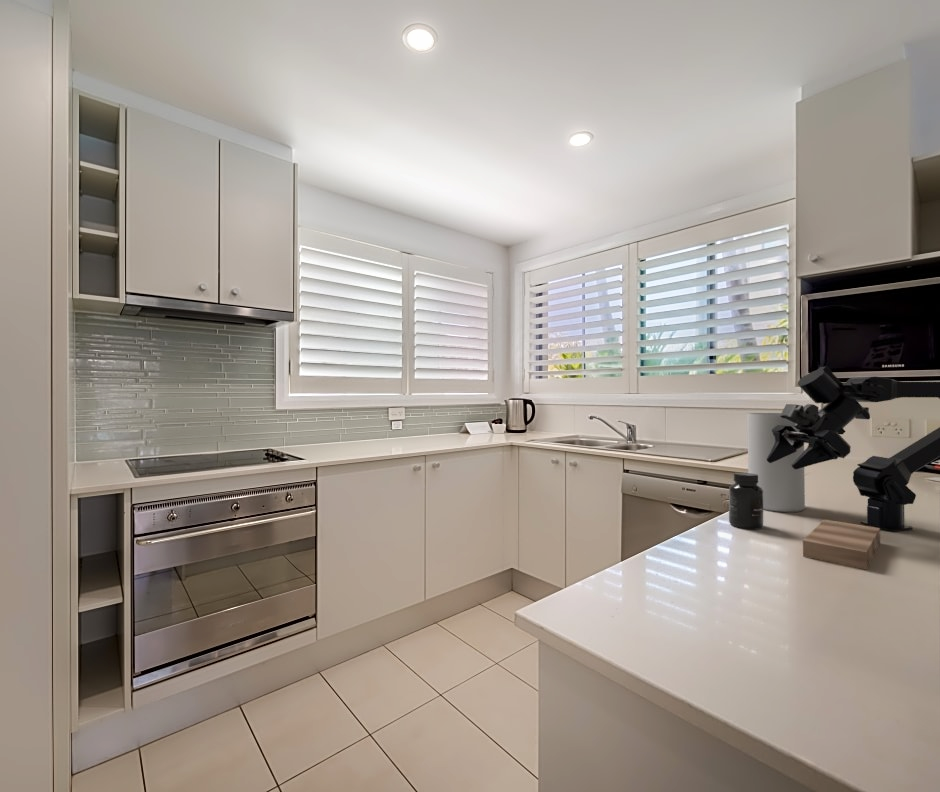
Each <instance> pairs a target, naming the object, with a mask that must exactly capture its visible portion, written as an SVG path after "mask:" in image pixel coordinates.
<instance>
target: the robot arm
mask: <svg viewBox="0 0 940 792" xmlns="http://www.w3.org/2000/svg"><path fill="white" fill-rule="evenodd" d="M797 386H798V387H799V388H800V389H801V390H802V391H803V392H804V393H805V394H806V395H807V396H808V397H809V398H810V399H811V400H812V401H813V404H812V403H810V404H809V403H807V404H805V405H804V406H803V405H801V404H796V403H795V404H794V403H793V404H792V403H790V404H789V403H787V404H785V406H784V408H783V410H782V411H781V412H780V413H781V415H780V417H782V418H786V419H788V420H790V421H792V422H794V423H796V424H795V425H794V426H795V427H796V428H797V429H799V430H800V431H799V432H796V431H795V430H794V428H793V427H792V426H785V425H777V426H776V427H774V428H773V429H772V432H773V435H774V437H775V443H774V446H773V448H772V450H771V452H770V454H769V455H768V457H767V459H766V460H767V461H768V462H769V463H772V462H774V461H777V460H779V459H781V458H783V457H786V456H788V455H790V454H792V453H794V452H797V450H796V449H799V448H801V447H802V446H803V445H804V446H805V444H808V445H807V447H806V448H805V449H804V452H803V453H802V454H801V455H800V456H799V457H798V458H797V459H796V461H795V462H794V463H793V464H792V467H793V468H794V469H799V468H803V467H804V468H806V467H809V466H812V465H816V464H820V463H825V462H829V461H833V460H837V459H838V458H839V459H840V458H841V459H845V458H846V457H847V456H849V454H850V453H851V445H850V444H849V442H847V441H846V440H845V439H844V437H843V436H841V435H844V433H846V430H845V429H844V428H845V427H846V426H847V425H848V424H850V422H852V421H853V420H854V419H857V420H870V418H871V414H870V412H869V411H870V410H869V409H870V408H869V407H865V406H863V405H861V404H860V403H882V402H887V401H893V400H896V399H901V398H938V399H939V400H940V381H900V380H895V379H893V378H887V377H882V376H860V377H859V376H856V377H850V378H848V379H847V380H846V381H845V382H842V381H841V380H840V379H839V378H838V376H836V375H835V374H834V373H833V371H832V370H831V368H830V367H828V366H820V367H818V369H816V370H813V371H811V372H810V373H807V374H806V375H803V376H802V377H800V379H799V380H798V381H797ZM814 403H815V404H814ZM816 404H823V405H824V406H823V407H822V408H821V409H819V406H817V405H816ZM938 458H940V426H938V427H937V428H935V429H934V430H933V431H931V432H929V433H928V434H926V435H924V436H923V437H921V438H920V439H918V440H917V441H915V442H913V443H911V444H910V445H908V446H907V447H904V449H901V450H900V451H898V452H897V453H896V454H893V455H892V456H890V457H884V456H877V455H872V456H870V457H868V458H867V459H866V460H865V461H863V462H861V463H858V464H857V466H858V467H857V468H855V469H854V470H853V472H852V474H853V475H852V481H853V483H854V486H856V488H857V490H858V492H859V495H860V496H863V497H867V506H866V517H867V518H866V520H862V521H860V525H863V526H869V527H876V528H880V530H884V531H888V532H900V531H909V530H910V531H911V530H913V526H909V525H905V506H906V505H914V502H915V500H916V497H917V495H916V493H915V492H914V491H912V489H910V488H909V487H908V486H907V485H908V484H909V482H910V479H911V476H912V475H913V474H914V473H915V472H917V471H919V470H920V469H922V468H924V467H925V466H926V465H928V464H930V463H932V462H933V461H935V460H936V459H938Z"/></svg>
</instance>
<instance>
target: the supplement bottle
mask: <svg viewBox="0 0 940 792" xmlns="http://www.w3.org/2000/svg"><path fill="white" fill-rule="evenodd" d="M733 482H734V483H732V484H731V485H730V486H729V488H728V523H729V524H730V525H731V526H733V527H736V528H739V529H745V530H760V529H762V528H763V527H764V509H763V490H762V488H761V487H759V486H758V485H757V483H758V475H757V474H752V473H748V472H734V473H733Z"/></svg>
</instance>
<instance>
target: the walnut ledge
mask: <svg viewBox="0 0 940 792" xmlns="http://www.w3.org/2000/svg"><path fill="white" fill-rule="evenodd" d="M880 544H881V529H880V528H876V527H872V526H868V525H864V524H855V523H849V522H842V521H835V520H829V519H823V520H822V521H821V522H820V523H819V524H818V525H817V526H816V527H815V528H814V529H813V530H812V531H811V532H810V533H809V534H808V535H807V536H806V537H805V538H804V539H802V556H803V557H804V556H806V557H805V558H809V557H810V558H809V559H813V558H816V559H815V560H818V559H821V560H820V561H823V560H826V561H825V562H828V561H831V562H830V563H833V562H835V563H834V564H838V563H840V564H839V565H842V564H844V565H843V566H847V565H849V566H848V567H852V566H853V567H852V568H858V569H863V570H868V568H869V566H870V564H871V561H872V560H873V558H874V555H875V554H876V552H877V550H878V548H879V546H880Z"/></svg>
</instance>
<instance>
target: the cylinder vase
mask: <svg viewBox="0 0 940 792" xmlns="http://www.w3.org/2000/svg"><path fill="white" fill-rule="evenodd" d="M781 413H782V412H749V413H747V470H748V471H747V473H752V474H757V475H758V483H757V485H758V486H759V487H761V488H762V490H763V511H770V512H771V511H772V512H779V513H780V512H781V513H797V512H798V513H799V512H802V511H803V510H805V507H806V503H805V501H806V495H805V493H806V490H805V485H806V484H805V479H806V478H805V476H806V475H805V467H803V468H799V469H794V468H793V467H792V464H793V463H794V462H795V461H796V459H797V458H798V457H799V456H800V455H801V454H802V453H803V452H804V451H805V444H804V445H803V446H802V447H801V448H799V449H796V450H797V452H794V453H792V454H790V455H788V456H786V457H783V458H781V459H779V460H777V461H774V462H772V463H769V462H768V461H767V460H766V459H767V457H768V455H769V454H770V452H771V450H772V448H773V446H774V443H775V437H774V435H773V432H772V429H773V428H774V427H776V426H777V425H785V426H792V427H793V428H794V430H795V431H796V432H799V431H800V430H799V429H797V428H796V427H795V426H794V425H795V424H796V423H794V422H792V421H790V420H788V419H786V418H782V417H780V415H781Z"/></svg>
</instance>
